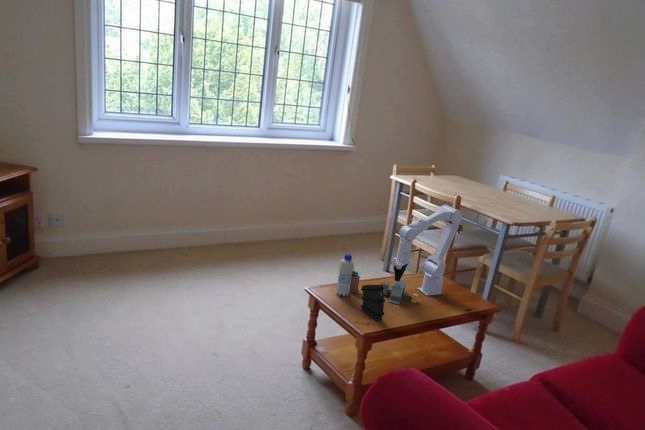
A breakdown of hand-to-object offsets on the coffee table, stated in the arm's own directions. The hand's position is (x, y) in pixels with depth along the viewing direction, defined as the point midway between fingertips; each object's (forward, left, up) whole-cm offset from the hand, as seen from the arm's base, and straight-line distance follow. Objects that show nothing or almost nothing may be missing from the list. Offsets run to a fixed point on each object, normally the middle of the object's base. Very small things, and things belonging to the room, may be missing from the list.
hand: (398, 278), depth 228 cm
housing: (-1, 0, -10) cm, 10 cm away
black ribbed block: (+21, +12, -10) cm, 26 cm away
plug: (-1, +1, -10) cm, 10 cm away
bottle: (+25, -7, -10) cm, 28 cm away
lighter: (+19, -11, -10) cm, 24 cm away
